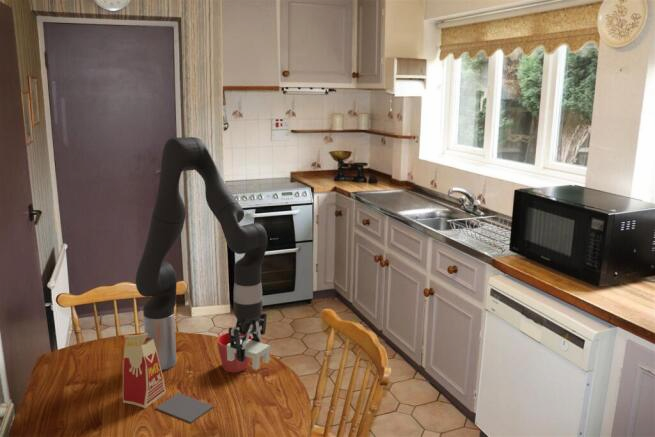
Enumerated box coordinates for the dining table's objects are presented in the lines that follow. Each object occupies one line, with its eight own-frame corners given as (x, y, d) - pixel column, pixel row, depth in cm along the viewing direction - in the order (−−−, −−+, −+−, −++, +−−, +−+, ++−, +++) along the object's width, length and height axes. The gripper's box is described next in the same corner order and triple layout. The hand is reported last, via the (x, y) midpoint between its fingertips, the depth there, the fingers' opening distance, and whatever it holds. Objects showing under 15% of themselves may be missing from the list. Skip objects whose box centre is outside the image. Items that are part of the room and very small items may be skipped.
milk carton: (166, 392, 166) (163, 328, 162) (146, 408, 158) (142, 341, 153) (139, 386, 169) (135, 323, 165) (118, 402, 161) (114, 336, 156)
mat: (155, 408, 158) (155, 407, 158) (178, 394, 165) (178, 392, 165) (191, 423, 152) (191, 421, 151) (213, 407, 159) (213, 405, 159)
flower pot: (246, 377, 176) (245, 347, 174) (212, 372, 178) (211, 344, 176) (257, 361, 186) (257, 333, 184) (225, 357, 188) (224, 329, 186)
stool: (226, 344, 156) (256, 354, 151) (240, 336, 161) (269, 345, 156) (226, 360, 157) (256, 369, 152) (240, 351, 162) (269, 360, 157)
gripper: (242, 309, 145) (243, 370, 149) (275, 292, 157) (274, 349, 161) (219, 303, 148) (220, 363, 152) (253, 287, 160) (253, 342, 164)
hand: (248, 355), depth 156 cm, fingers closed on stool, 6 cm apart
